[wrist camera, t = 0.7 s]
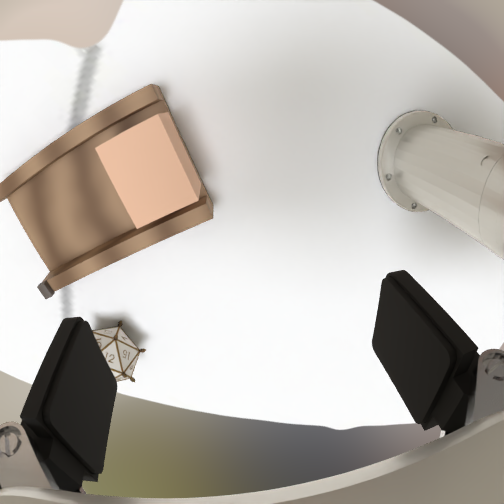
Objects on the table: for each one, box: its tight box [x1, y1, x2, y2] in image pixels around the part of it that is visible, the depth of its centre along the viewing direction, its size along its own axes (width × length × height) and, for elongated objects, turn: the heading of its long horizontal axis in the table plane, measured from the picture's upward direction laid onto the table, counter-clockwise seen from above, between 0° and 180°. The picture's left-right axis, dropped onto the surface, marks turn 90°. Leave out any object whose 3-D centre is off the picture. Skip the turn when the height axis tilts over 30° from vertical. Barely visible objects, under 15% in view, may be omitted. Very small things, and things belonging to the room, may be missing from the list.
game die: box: [92, 321, 146, 382], centre depth 37 cm, size 9×8×10 cm
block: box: [95, 112, 201, 229], centre depth 27 cm, size 6×8×6 cm
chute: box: [0, 84, 213, 299], centre depth 30 cm, size 22×14×5 cm, turn 112°
